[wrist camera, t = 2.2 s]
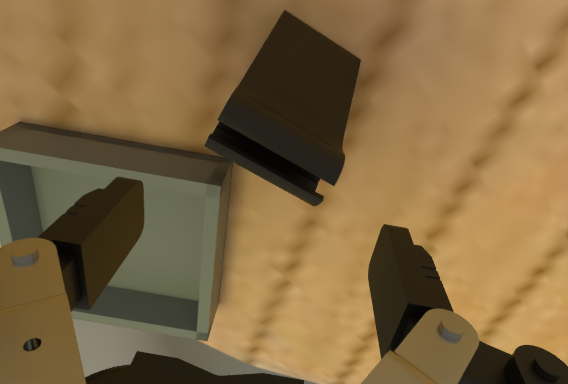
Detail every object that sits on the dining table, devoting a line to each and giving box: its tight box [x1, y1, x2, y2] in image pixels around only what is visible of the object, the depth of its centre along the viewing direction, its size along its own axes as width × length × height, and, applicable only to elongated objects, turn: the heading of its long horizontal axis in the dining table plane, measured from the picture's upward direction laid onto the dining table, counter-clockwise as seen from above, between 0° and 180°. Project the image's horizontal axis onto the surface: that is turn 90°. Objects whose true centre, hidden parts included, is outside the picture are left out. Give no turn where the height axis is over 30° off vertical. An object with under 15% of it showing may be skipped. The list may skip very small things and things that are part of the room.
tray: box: [0, 122, 233, 341], centre depth 32 cm, size 17×16×4 cm
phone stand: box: [205, 10, 361, 206], centre depth 22 cm, size 9×6×12 cm, turn 149°
